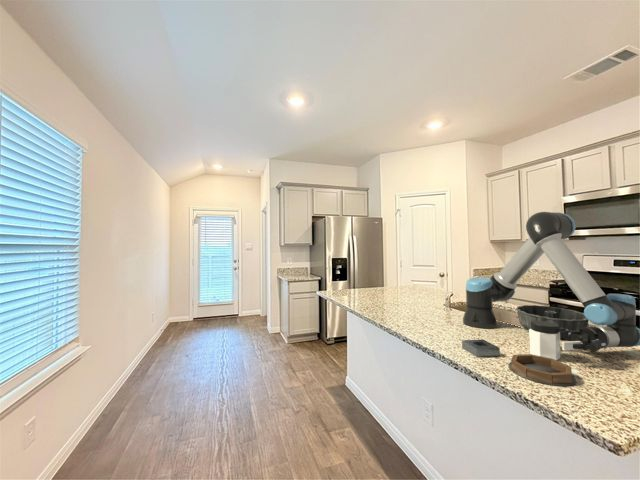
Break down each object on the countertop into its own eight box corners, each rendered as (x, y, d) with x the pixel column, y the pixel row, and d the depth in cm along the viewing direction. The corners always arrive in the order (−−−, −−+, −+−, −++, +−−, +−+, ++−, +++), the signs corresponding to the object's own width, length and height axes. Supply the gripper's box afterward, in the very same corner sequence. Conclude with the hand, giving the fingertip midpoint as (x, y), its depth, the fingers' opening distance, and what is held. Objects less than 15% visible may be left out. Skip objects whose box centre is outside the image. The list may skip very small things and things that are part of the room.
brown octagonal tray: (496, 362, 97) (496, 354, 97) (541, 360, 98) (541, 352, 98) (538, 387, 80) (538, 377, 80) (592, 384, 81) (592, 375, 81)
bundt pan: (607, 340, 118) (607, 317, 118) (558, 345, 112) (557, 321, 112) (545, 323, 143) (545, 303, 143) (503, 326, 138) (502, 306, 138)
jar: (554, 363, 96) (553, 328, 96) (527, 355, 103) (526, 322, 103) (563, 357, 101) (562, 324, 101) (536, 349, 108) (536, 319, 108)
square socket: (462, 347, 110) (462, 340, 110) (483, 347, 111) (483, 339, 111) (476, 357, 101) (476, 348, 101) (499, 356, 102) (499, 347, 102)
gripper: (639, 361, 91) (580, 364, 89) (565, 335, 116) (518, 337, 114) (638, 338, 91) (579, 340, 89) (565, 318, 116) (518, 319, 114)
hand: (545, 339), depth 101 cm, fingers open, 13 cm apart
